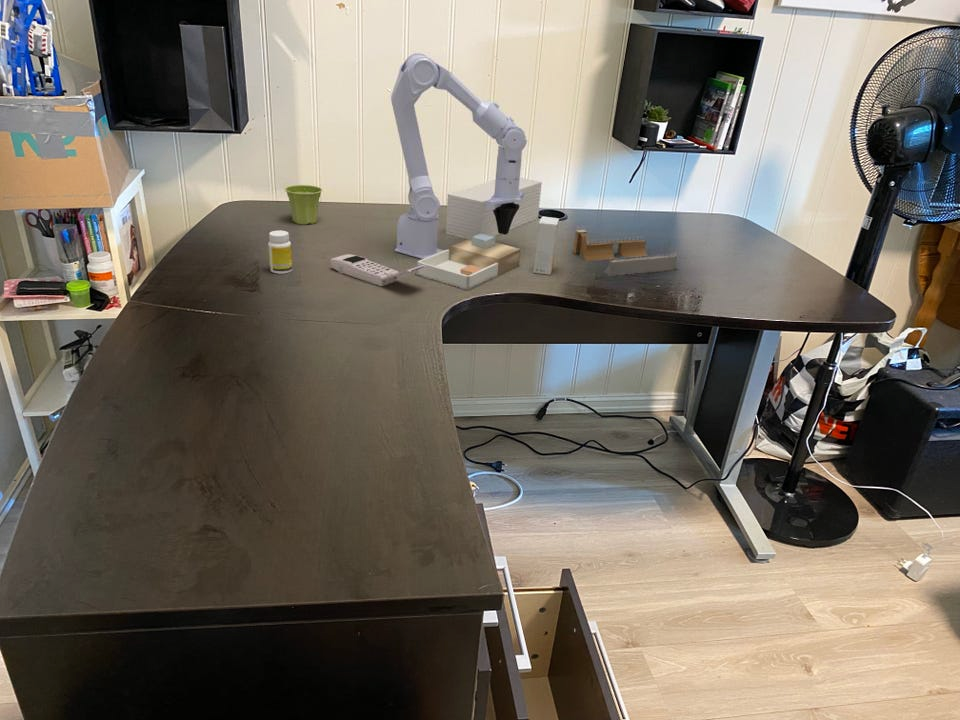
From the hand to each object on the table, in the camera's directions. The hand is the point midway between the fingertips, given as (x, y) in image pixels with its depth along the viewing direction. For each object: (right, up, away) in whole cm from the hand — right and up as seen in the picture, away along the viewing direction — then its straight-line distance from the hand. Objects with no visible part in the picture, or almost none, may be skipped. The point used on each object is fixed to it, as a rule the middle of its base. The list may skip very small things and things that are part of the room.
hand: (503, 233), depth 173 cm
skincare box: (+9, -10, -7) cm, 15 cm away
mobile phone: (-29, -14, -19) cm, 37 cm away
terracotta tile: (-7, -11, -17) cm, 22 cm away
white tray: (-11, -12, -14) cm, 22 cm away
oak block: (-4, -8, -6) cm, 11 cm away
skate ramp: (+28, -5, +7) cm, 29 cm away
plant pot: (-52, +6, +15) cm, 54 cm away
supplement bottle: (-49, -12, -19) cm, 54 cm away
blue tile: (-5, -4, -7) cm, 9 cm away
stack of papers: (-2, +6, +24) cm, 24 cm away
